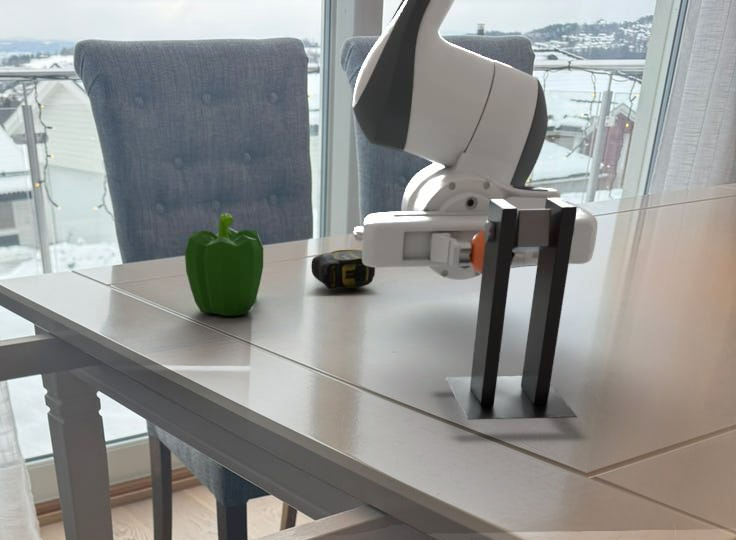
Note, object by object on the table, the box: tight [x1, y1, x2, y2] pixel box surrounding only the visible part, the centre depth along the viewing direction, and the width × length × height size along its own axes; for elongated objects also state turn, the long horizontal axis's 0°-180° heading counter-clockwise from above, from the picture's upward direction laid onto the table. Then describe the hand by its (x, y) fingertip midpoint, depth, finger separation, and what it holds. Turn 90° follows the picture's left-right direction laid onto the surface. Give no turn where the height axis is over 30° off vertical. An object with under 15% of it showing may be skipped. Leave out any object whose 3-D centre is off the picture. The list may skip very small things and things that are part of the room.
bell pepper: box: [184, 213, 264, 317], centre depth 98 cm, size 8×8×10 cm
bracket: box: [445, 197, 578, 420], centre depth 68 cm, size 10×8×15 cm
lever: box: [469, 209, 551, 275], centre depth 71 cm, size 15×4×4 cm, turn 0°
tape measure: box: [311, 249, 376, 290], centre depth 108 cm, size 7×7×4 cm
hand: (492, 255), depth 76 cm, fingers closed on lever, 3 cm apart
